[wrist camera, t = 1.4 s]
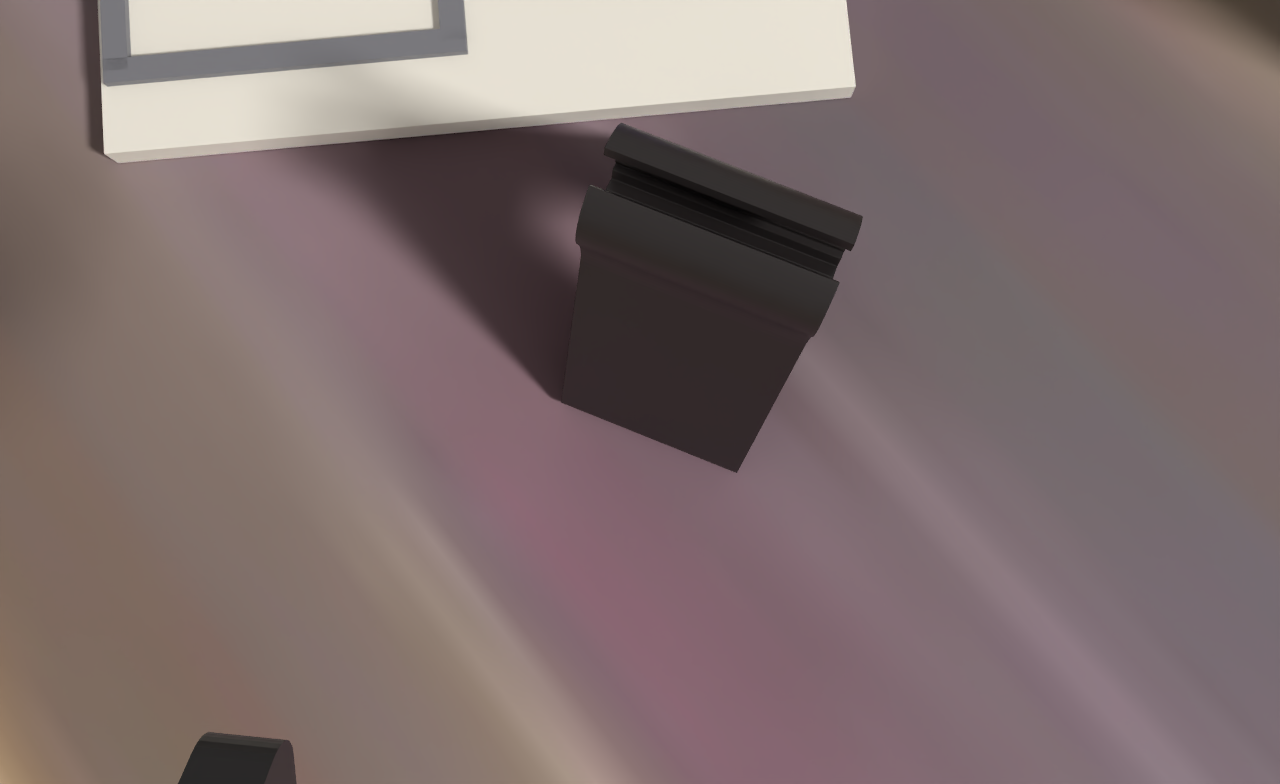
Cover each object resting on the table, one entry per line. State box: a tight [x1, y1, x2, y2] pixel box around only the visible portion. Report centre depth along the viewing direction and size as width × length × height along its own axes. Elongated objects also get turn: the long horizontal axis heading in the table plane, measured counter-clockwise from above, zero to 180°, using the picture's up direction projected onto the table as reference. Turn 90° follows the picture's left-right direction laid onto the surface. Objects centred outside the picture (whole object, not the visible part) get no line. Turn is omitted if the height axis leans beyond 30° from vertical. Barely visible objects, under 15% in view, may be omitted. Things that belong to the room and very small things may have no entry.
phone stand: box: [561, 123, 863, 473], centre depth 32 cm, size 9×6×12 cm, turn 158°
